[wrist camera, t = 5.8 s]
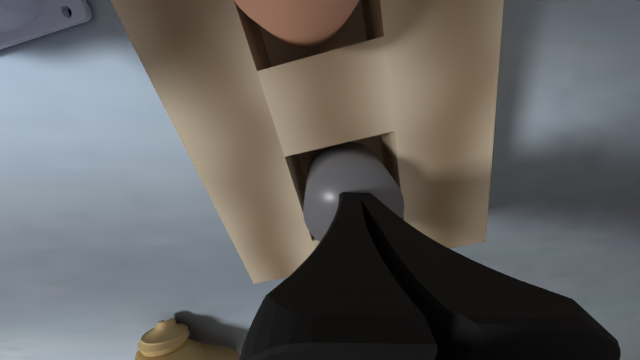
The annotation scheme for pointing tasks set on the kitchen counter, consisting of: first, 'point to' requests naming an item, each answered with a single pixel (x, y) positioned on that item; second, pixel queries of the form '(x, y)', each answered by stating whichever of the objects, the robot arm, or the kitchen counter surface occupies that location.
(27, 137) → the kitchen counter surface
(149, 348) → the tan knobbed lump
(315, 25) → the knob middle
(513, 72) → the kitchen counter surface
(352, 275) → the robot arm
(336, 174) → the knob
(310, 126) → the mount
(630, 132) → the kitchen counter surface
